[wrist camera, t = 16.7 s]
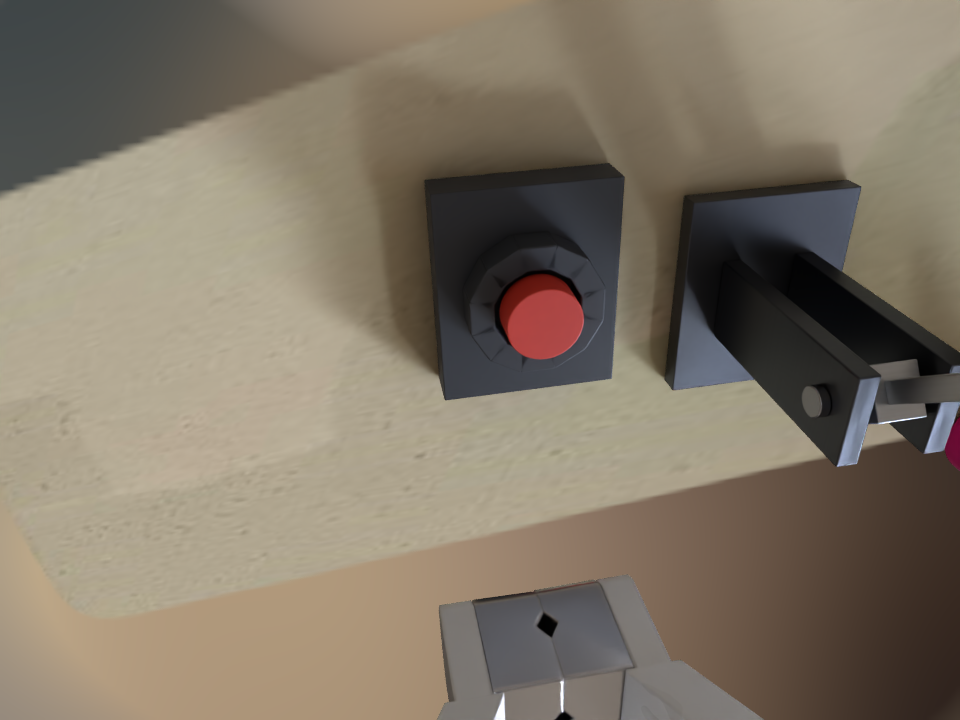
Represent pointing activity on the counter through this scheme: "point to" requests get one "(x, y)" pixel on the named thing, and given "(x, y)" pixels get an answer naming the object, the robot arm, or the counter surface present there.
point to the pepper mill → (954, 445)
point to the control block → (522, 271)
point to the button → (541, 316)
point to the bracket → (794, 315)
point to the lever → (910, 391)
